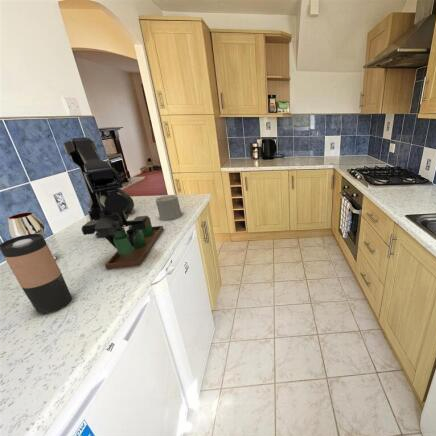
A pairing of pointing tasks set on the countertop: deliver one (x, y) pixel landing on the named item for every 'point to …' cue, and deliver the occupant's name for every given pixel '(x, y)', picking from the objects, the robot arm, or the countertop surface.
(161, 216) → the coffee mug
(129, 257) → the tray
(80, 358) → the countertop surface
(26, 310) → the countertop surface
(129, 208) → the squash
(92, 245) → the countertop surface
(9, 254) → the travel mug
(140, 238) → the bottle middle
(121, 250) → the green bottle
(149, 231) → the bottle near
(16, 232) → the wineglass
